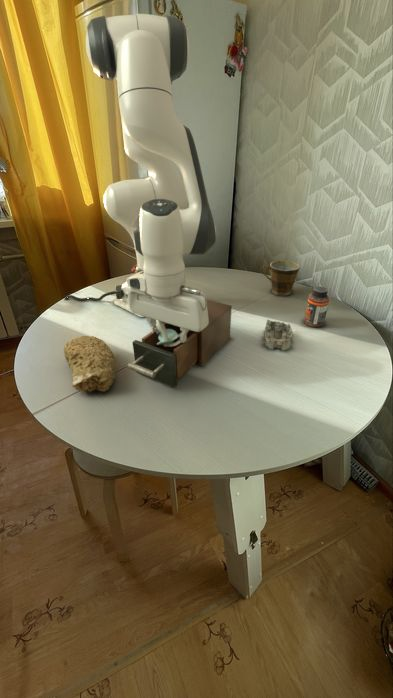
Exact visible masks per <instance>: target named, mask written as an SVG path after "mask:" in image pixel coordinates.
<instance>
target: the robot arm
mask: <svg viewBox="0 0 393 698" xmlns="http://www.w3.org/2000/svg"><path fill="white" fill-rule="evenodd" d="M86 27H87V29H86V33H85V50H86V55H87V58H88V61H89V64H90V65H91V67H92V70H93V73H94V74H96V75H97V76H98V77H99V78H100V79H103V80H106V81H110V82H113V80H116V86H117V98H118V99H117V100H118V107H119V108H118V109H119V113H120V120H121V130H122V139H123V145H124V146H123V147H124V151H125V154H126V155H127V157H128V158H129V159H130V160H132V161H133V162H135V163H137V164H139V165H141V166H143V167H145V168H146V171H147V172H148V177H146V178H135V179H133V178H132V179H124V180H120V181H116V182H113V183H110V184H108V186H107V187H106V189H105V191H104V194H103V205H104V209H105V211H106V213H107V214H108V216H109V217H110V218H111V219H112V220H113V221H114V222H116V223H118V224H119V225H121V226H122V227H123V228H124V229H125V230H126V231H127V233H128V234H129V236H130V237H131V239H132V242H133V246H134V250H135V255H136V264H135V265H134V266H132V267H130V269H131V272H133V271H134V274H132V275H130V276H128V277H127V278H126V281H125V282H124V283H123V284H120V285H115V290H113V291H109V292H108V291H107V292H105V293H103V294H101V295H100V296H99V297H91V296H89V297H77V296H75V295H73V294H68V295H66V296H65V297H64V300H69V299H73V300H74V301H78V302H88V301H93V302H100V301H102V300H103V299H104V298H105V297H108V296H112V295H115V300H114V305H115V306H117V307H120V309H121V308H122V309H123V310H126V311H127V312H130V313H131V314H132V315H133V314H134V315H135V316H138V317H139V318H145V319H146V321H147V323H148V325H149V327H150V328H151V332H152V333H154V334H157V335H158V334H159V333H160V331H159V330H158V329H157V327H156V322H157V321H162V322H165V323H168V324H172V325H175V326H178V327H180V330H181V331H182V332H181V333H180V334H178V335H177V341H180V342H181V343H184V342H185V341H186V340H187V335H186V334H187V333H188V331H189V330H192V331H195V332H200V331H202V330H203V329H204V328H205V327H206V326H207V325H208V323H209V319H208V310H207V299H208V297H207V296H206V295H205V294H204V293H203V292H202V291H201V289H199V288H192V287H190V286H187V283H186V282H187V280H186V266H185V265H186V264H185V262H184V255H195V256H196V255H198V256H199V255H201V256H203V255H205V254H206V253H208V251H209V250H211V249H212V248H213V246H214V245H215V244H216V239H217V227H216V224H215V220H214V217H213V212H212V210H211V207H210V206H211V205H210V203H209V199H208V194H207V190H206V185H205V181H204V176H203V172H202V168H201V162H200V158H199V155H198V151H197V146H196V142H195V139H194V137H193V134H192V132H191V129H190V128H189V127H187V126H186V125H184V124H183V123H182V122H181V120H180V118H179V117H178V114H177V111H176V108H175V104H174V98H173V97H174V96H173V87H172V85H173V81H176V80H178V79H179V78H181V77H182V75H184V73H185V71H186V70H187V67H188V62H189V59H190V49H191V48H190V39H189V36H188V32H187V27H186V25H185V24H184V22H183V21H182V19H180V18H179V17H178V18H177V17H175V16H172V15H166V16H161V15H156V14H155V15H154V14H151V13H150V14H149V13H148V14H147V13H135V14H123V15H115V16H108V17H106V16H105V15H101V16H97V17H94V18H92V19H90V21H89V23H88V24H87V26H86ZM173 163H174V164H175V165H176V166H177V168H178V169H179V170H180V173H179V171H178V170H177V169H176V168H175V166H174V164H173ZM67 297H68V298H67ZM87 298H89V299H87Z"/></svg>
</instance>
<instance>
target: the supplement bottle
mask: <svg viewBox="0 0 393 698" xmlns="http://www.w3.org/2000/svg"><path fill="white" fill-rule="evenodd" d="M328 292H329V290H328V288H326V286H314V287H313V290H312V293H310V294H309V295H308V296H307V297H308V298H307V302H306V308H305V313H304V319H303V322H304V324H306V326H309V327H312V328H320V327H323V326H324V325H325V322H326V317H327V312H328V308H329V303H330V297H329V296H328Z"/></svg>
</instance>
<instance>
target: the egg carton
mask: <svg viewBox="0 0 393 698" xmlns="http://www.w3.org/2000/svg"><path fill="white" fill-rule="evenodd" d="M263 336H264V340H265V342H264V346H265V347H266V348H268V349H269V350H274V349H275V348H276V349H277V348H278V349H280V350H281V351H286V350H288V349H290V348H291V345H292V336H293V329H292V325H291V324H290V323H287V324H285V322H284V321H283V322H281V321H276V320H274V321H273V320H271V319H267V320H266V324H265V328H264V333H263Z"/></svg>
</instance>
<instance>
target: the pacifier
mask: <svg viewBox="0 0 393 698" xmlns="http://www.w3.org/2000/svg"><path fill="white" fill-rule="evenodd" d="M156 327H157V329H158V330H159V331H160V334H159V337H158V338H159V340H160V342H159V343H157V345H161V344H163V345H164V346H165V347H167V346H169V347H173V346H176V345H178V344H180V343H181V342H180V341H177V342H175V343H174V340H176V339H177V335H178V334H177V333H176V331H174V330H172V329H166V328H165V326H164V324H163V323H162V321H158V320H156ZM162 336H163V337H162Z"/></svg>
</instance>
